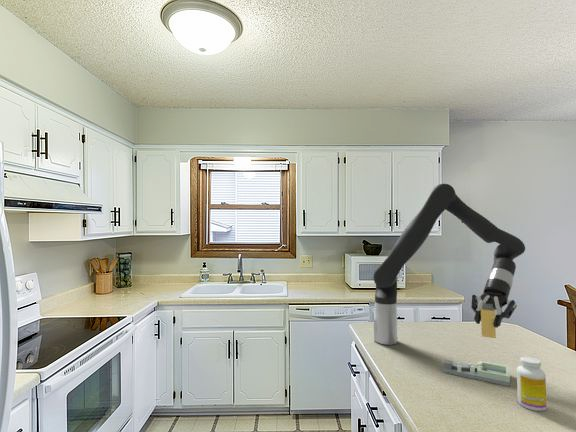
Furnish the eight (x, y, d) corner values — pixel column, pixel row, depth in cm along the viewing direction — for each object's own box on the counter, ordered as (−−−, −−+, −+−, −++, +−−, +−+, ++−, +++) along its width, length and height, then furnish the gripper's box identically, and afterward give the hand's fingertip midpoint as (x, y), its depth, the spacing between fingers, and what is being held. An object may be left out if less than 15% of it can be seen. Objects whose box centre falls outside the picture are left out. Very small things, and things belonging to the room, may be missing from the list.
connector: (481, 336, 113) (480, 305, 113) (482, 332, 116) (480, 302, 116) (495, 338, 111) (494, 306, 111) (495, 334, 114) (494, 303, 114)
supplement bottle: (551, 413, 90) (550, 365, 91) (524, 411, 92) (523, 363, 92) (538, 400, 97) (537, 355, 97) (513, 398, 98) (512, 354, 98)
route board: (443, 372, 116) (443, 363, 116) (447, 363, 123) (447, 354, 123) (510, 386, 105) (509, 376, 105) (509, 375, 113) (509, 365, 113)
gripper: (474, 275, 124) (460, 313, 116) (518, 279, 113) (506, 322, 105) (481, 287, 127) (467, 326, 119) (525, 293, 116) (513, 335, 108)
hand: (486, 324), depth 112 cm, fingers closed on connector, 5 cm apart
